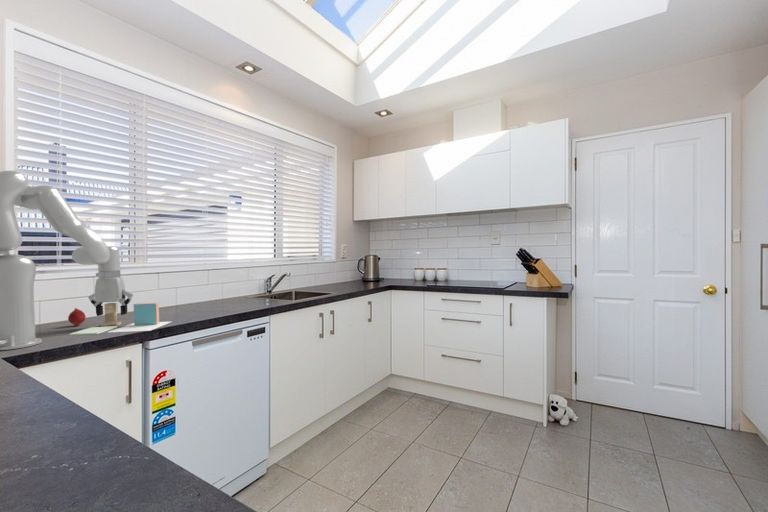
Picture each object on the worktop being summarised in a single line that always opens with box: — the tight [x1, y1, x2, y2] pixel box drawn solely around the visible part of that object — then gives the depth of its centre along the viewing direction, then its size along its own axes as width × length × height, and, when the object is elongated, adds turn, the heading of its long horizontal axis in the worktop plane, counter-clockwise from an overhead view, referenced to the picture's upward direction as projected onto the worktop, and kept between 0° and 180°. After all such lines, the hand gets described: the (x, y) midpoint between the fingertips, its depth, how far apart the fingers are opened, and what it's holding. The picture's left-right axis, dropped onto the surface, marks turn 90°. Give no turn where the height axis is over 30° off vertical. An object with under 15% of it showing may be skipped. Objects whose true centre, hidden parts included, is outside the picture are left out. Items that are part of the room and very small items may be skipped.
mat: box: [108, 321, 171, 333], centre depth 150 cm, size 18×16×1 cm
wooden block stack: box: [100, 302, 122, 327], centre depth 155 cm, size 3×6×10 cm, turn 96°
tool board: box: [68, 325, 118, 336], centre depth 144 cm, size 12×10×1 cm
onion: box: [67, 307, 86, 327], centre depth 159 cm, size 6×6×8 cm
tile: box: [133, 302, 160, 326], centre depth 154 cm, size 2×9×9 cm, turn 96°
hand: (112, 314), depth 156 cm, fingers open, 9 cm apart
